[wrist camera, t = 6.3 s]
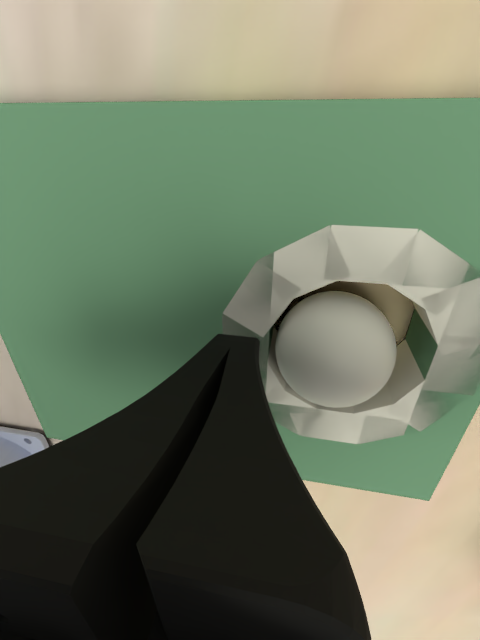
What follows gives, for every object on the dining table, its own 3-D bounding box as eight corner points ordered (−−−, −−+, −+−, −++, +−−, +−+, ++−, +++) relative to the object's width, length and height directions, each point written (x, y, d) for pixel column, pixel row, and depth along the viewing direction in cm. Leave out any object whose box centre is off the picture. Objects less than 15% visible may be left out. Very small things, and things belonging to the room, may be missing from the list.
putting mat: (76, 401, 18) (46, 437, 16) (-25, 109, 11) (-103, 104, 9) (412, 450, 16) (428, 500, 14) (557, 105, 9) (641, 95, 6)
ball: (372, 367, 14) (277, 378, 14) (370, 274, 12) (266, 288, 13) (419, 426, 10) (286, 439, 10) (422, 300, 9) (272, 318, 9)
